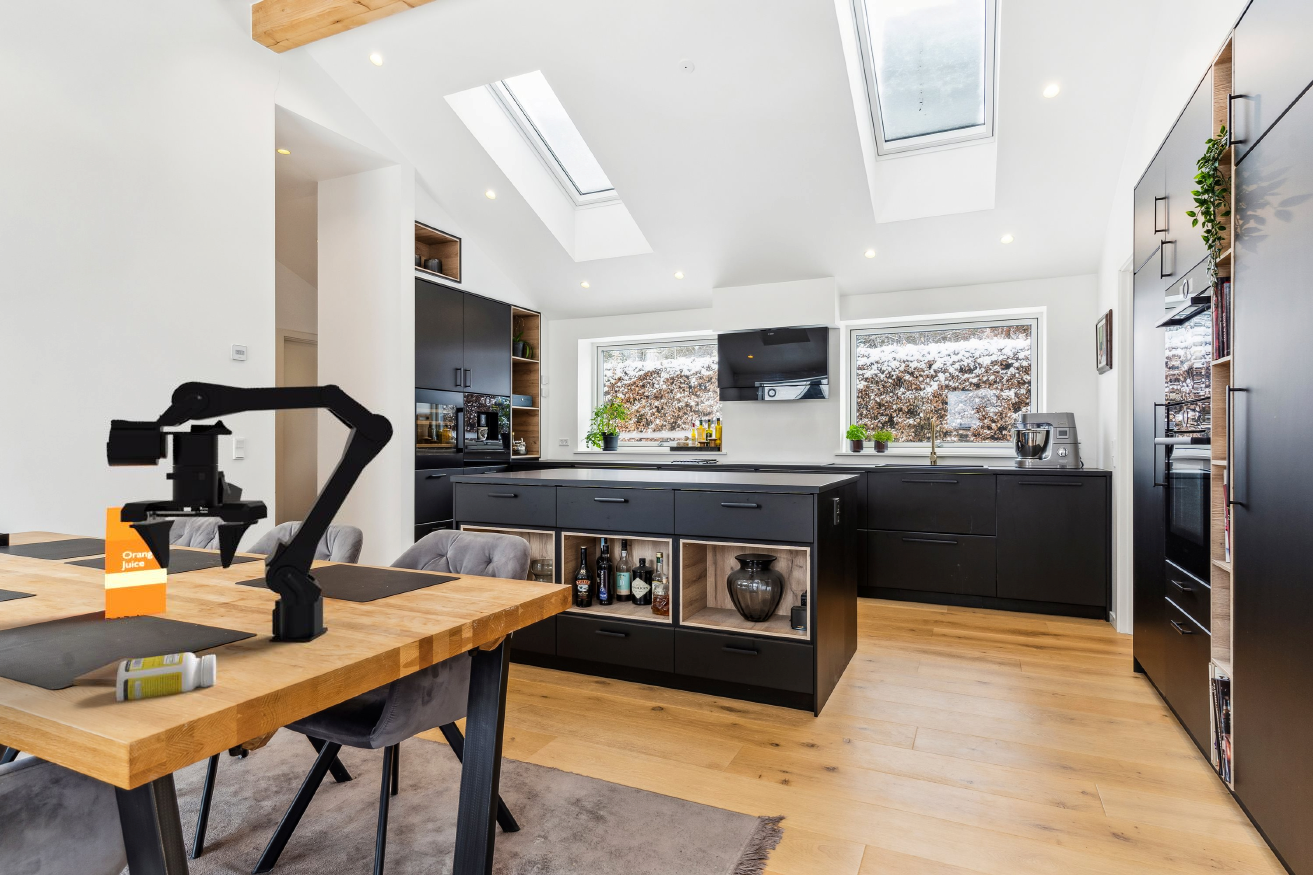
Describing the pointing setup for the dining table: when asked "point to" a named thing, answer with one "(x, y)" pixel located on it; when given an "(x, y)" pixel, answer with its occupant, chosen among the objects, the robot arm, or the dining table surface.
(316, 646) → the dining table surface
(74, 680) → the walnut slab
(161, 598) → the orange juice
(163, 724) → the dining table surface
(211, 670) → the supplement bottle
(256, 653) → the dining table surface
